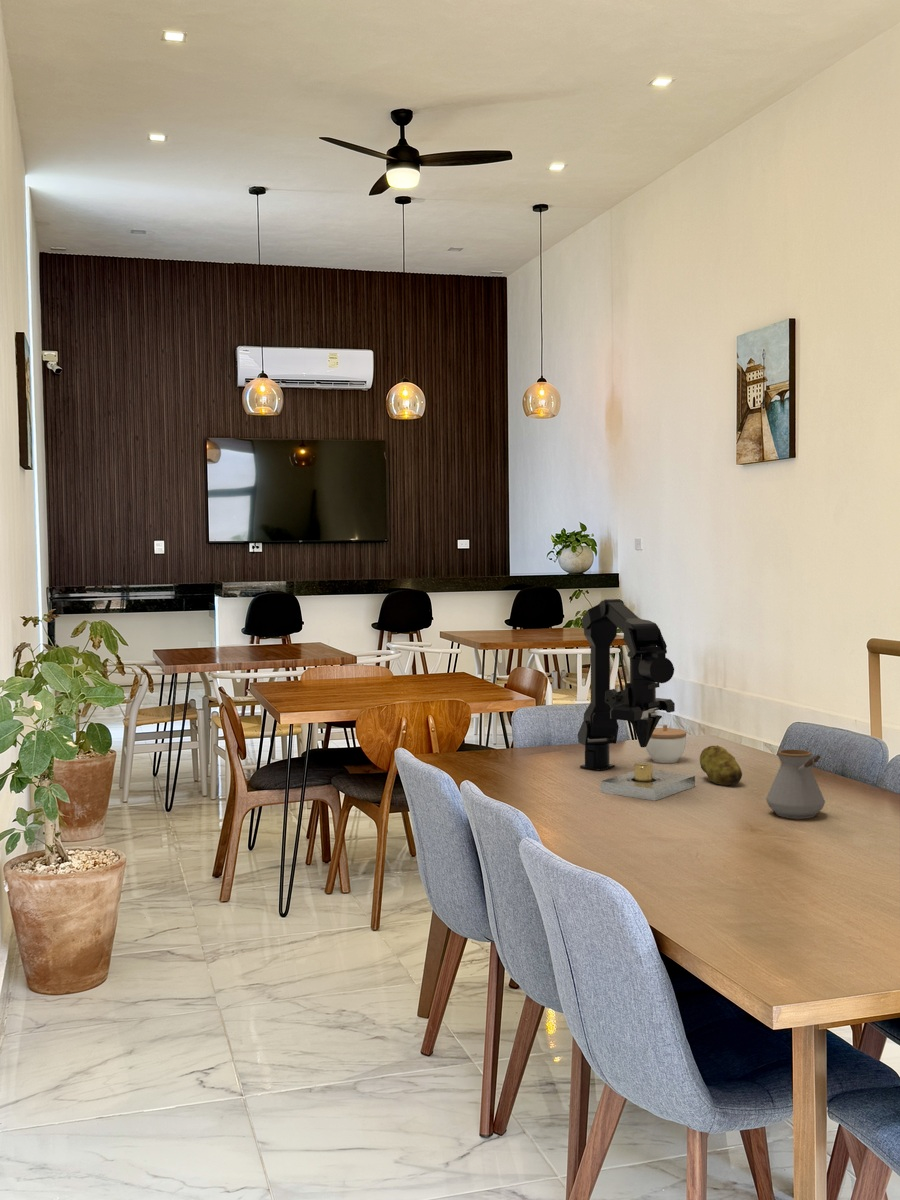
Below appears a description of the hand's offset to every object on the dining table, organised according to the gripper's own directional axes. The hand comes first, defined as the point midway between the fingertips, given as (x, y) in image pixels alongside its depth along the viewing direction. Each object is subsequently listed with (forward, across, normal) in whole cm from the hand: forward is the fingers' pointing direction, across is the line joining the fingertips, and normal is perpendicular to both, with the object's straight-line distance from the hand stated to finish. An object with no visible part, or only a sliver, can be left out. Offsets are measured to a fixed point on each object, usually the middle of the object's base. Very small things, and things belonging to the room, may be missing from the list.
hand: (643, 747), depth 246 cm
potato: (+10, -19, +9) cm, 23 cm away
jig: (+10, -2, 0) cm, 10 cm away
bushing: (+10, 0, 0) cm, 10 cm away
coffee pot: (+10, +4, +39) cm, 41 cm away
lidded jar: (+10, -34, -14) cm, 38 cm away
